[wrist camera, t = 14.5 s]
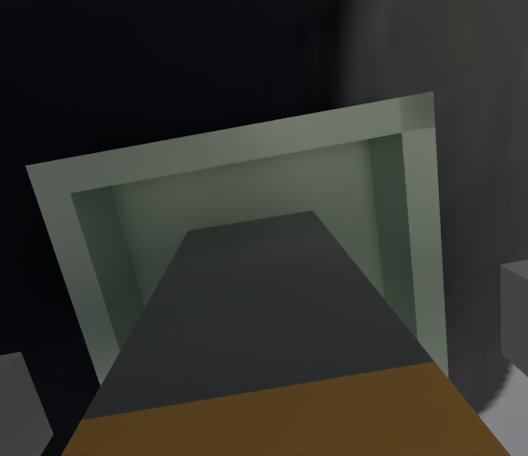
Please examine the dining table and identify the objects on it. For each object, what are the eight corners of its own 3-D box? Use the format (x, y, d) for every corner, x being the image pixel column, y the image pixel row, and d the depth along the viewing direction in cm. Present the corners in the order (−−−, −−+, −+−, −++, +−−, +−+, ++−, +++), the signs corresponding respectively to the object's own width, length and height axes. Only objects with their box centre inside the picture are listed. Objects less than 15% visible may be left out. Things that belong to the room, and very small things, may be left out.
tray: (158, 408, 18) (134, 485, 14) (83, 155, 15) (25, 165, 11) (406, 363, 18) (451, 427, 14) (384, 101, 15) (432, 91, 11)
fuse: (212, 341, 16) (127, 875, 5) (188, 230, 15) (-16, 590, 3) (327, 322, 16) (528, 807, 5) (312, 210, 15) (542, 496, 3)
